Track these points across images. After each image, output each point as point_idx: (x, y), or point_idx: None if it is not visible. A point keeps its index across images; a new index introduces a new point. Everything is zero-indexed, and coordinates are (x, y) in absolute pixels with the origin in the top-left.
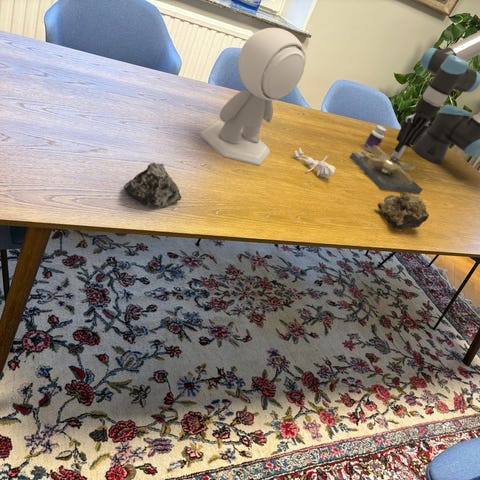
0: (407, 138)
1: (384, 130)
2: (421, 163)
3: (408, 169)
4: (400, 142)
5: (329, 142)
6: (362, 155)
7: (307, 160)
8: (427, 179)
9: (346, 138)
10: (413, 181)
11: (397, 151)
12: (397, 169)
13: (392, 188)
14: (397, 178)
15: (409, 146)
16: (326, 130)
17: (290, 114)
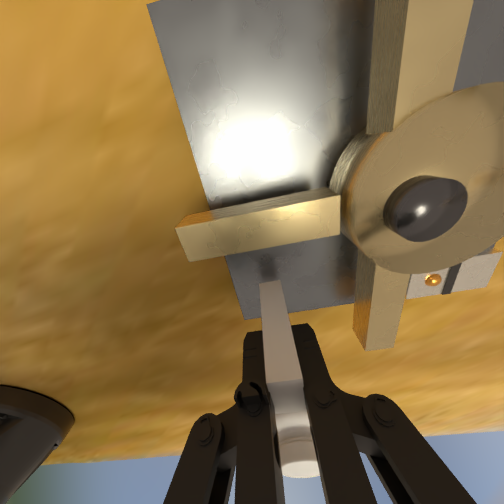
0: (355, 496)
1: (302, 462)
2: (53, 361)
3: (225, 209)
4: (391, 401)
5: (463, 331)
6: (474, 264)
7: None
8: (45, 260)
9: (344, 376)
10: (194, 128)
11: (305, 327)
12: (444, 88)
13: None
14: (341, 108)
15: (252, 389)
16: (401, 385)
17: (478, 404)
